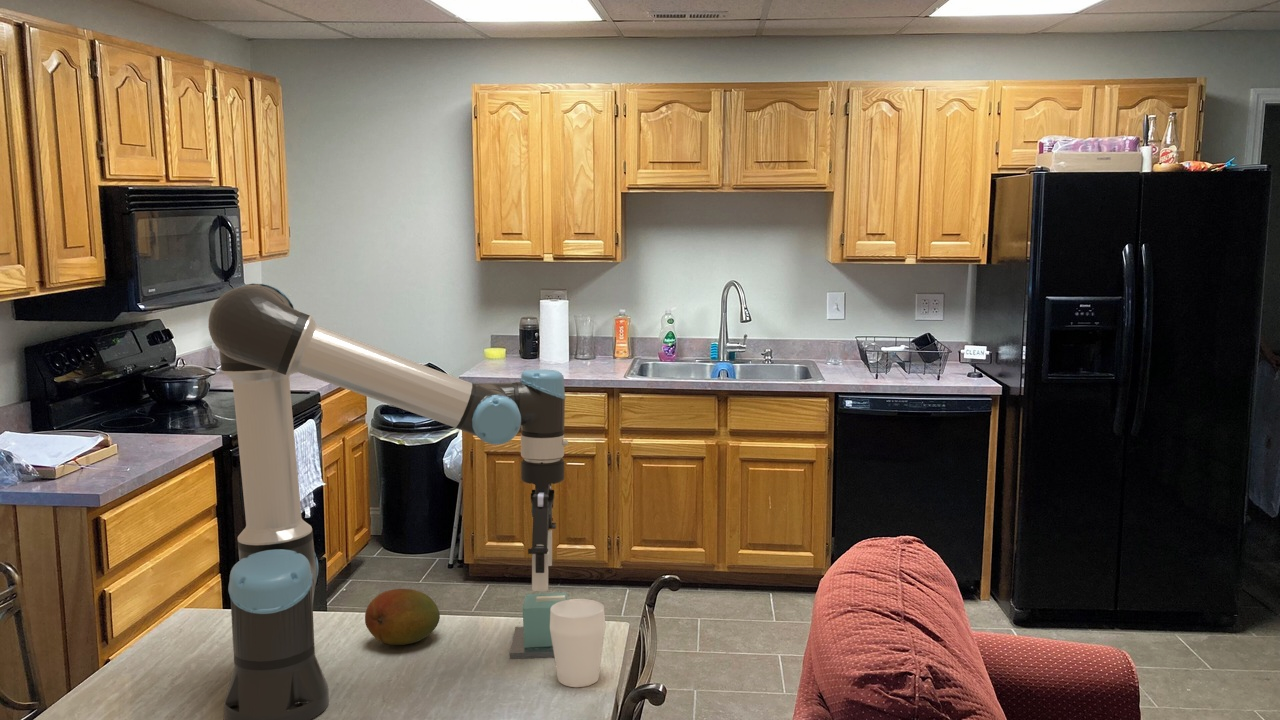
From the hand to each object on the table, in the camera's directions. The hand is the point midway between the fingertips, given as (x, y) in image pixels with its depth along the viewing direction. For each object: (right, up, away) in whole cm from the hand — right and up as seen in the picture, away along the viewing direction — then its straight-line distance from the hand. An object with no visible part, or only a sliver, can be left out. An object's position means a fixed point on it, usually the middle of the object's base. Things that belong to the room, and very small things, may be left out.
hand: (542, 577), depth 178 cm
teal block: (+1, -11, +1) cm, 11 cm away
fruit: (-25, -13, +3) cm, 28 cm away
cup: (+7, -14, -13) cm, 20 cm away
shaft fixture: (+1, -12, +1) cm, 12 cm away
